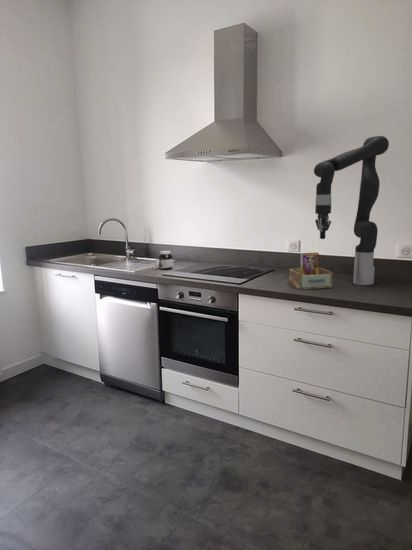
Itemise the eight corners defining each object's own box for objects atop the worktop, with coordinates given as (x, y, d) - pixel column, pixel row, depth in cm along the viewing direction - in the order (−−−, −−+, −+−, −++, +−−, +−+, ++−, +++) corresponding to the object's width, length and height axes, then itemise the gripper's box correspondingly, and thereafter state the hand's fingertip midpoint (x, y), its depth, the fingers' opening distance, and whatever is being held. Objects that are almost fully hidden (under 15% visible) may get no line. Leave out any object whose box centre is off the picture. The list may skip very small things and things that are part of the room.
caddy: (319, 281, 225) (320, 267, 223) (331, 287, 211) (332, 272, 210) (288, 283, 222) (289, 269, 220) (298, 289, 209) (299, 274, 207)
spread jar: (175, 269, 268) (174, 251, 266) (161, 271, 261) (160, 253, 258) (164, 267, 277) (163, 249, 274) (150, 269, 269) (149, 251, 267)
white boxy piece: (318, 280, 223) (319, 269, 222) (331, 286, 209) (331, 275, 208) (292, 282, 221) (292, 271, 219) (303, 288, 207) (303, 276, 205)
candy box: (315, 280, 220) (316, 252, 217) (318, 282, 216) (319, 253, 213) (299, 281, 219) (300, 252, 216) (302, 282, 215) (303, 253, 212)
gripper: (337, 204, 198) (335, 239, 201) (324, 203, 210) (323, 237, 214) (322, 204, 196) (321, 240, 200) (310, 203, 209) (309, 237, 213)
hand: (322, 238), depth 207 cm, fingers closed
